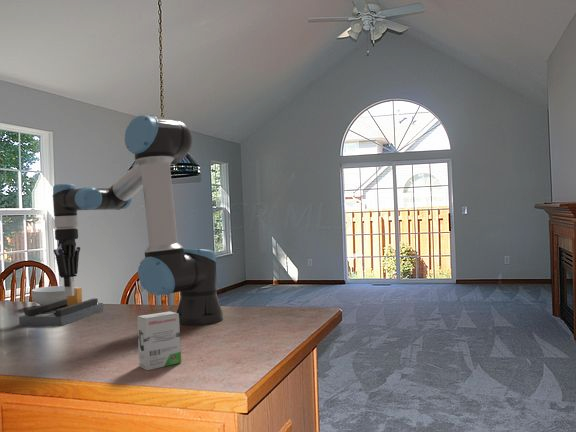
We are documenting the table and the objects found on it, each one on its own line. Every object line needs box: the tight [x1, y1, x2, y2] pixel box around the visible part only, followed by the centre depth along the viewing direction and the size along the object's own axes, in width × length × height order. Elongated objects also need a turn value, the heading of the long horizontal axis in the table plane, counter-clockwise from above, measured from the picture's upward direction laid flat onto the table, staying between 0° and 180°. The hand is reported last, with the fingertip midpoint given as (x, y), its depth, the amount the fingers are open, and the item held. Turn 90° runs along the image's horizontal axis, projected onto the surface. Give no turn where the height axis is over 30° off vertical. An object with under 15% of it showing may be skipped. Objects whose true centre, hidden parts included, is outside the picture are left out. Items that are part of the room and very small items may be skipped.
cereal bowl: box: [30, 285, 77, 306], centre depth 215 cm, size 17×17×7 cm
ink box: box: [136, 311, 182, 371], centre depth 127 cm, size 9×5×12 cm, turn 127°
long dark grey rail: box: [56, 298, 99, 316], centre depth 188 cm, size 2×23×2 cm, turn 170°
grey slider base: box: [18, 302, 104, 327], centre depth 189 cm, size 15×26×4 cm, turn 170°
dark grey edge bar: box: [24, 299, 67, 316], centre depth 190 cm, size 2×23×2 cm, turn 170°
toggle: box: [67, 286, 83, 306], centre depth 196 cm, size 4×3×6 cm
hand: (69, 295), depth 193 cm, fingers closed
